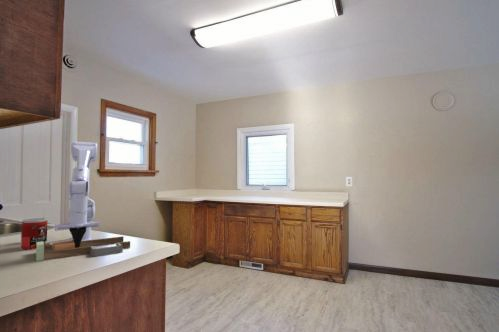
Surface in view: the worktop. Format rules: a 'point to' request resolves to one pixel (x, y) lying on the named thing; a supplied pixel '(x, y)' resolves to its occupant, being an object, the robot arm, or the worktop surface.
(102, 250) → the traps
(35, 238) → the canned food
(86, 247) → the track
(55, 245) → the block
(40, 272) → the worktop surface
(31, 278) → the worktop surface
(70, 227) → the robot arm
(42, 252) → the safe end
